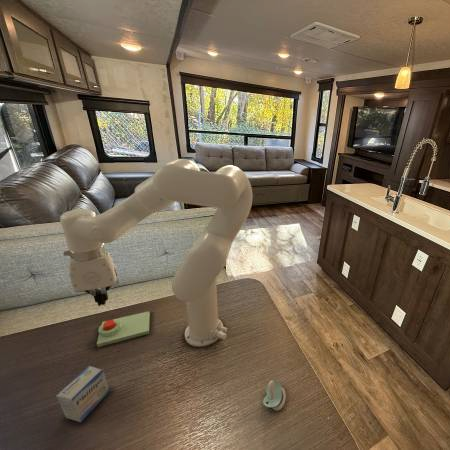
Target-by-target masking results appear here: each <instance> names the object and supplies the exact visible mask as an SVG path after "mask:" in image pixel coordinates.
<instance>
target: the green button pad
mask: <svg viewBox="0 0 450 450" xmlns="http://www.w3.org/2000/svg"><path fill="white" fill-rule="evenodd" d="M150 317H151V312H150V311H144V312H139V313H135V314H131V315H126V316H123V317H122V316H121V317H119V318H114V319H112V320H114V321H115V327H114V328H113V329H111V330H107V331H106V330H104V326H103V324H104V323H105V322H106V321H107V320H104V321H102V322H101V325H100V326H98V329H97V330H98V337H97V341H96V346H97V348H101V347H104V346H108V345H112V344H116V343H119V342H123V341H127V340H131V339H135V338H138V337H142V336H146V335H149V334H150V323H151V322H150Z"/></svg>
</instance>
